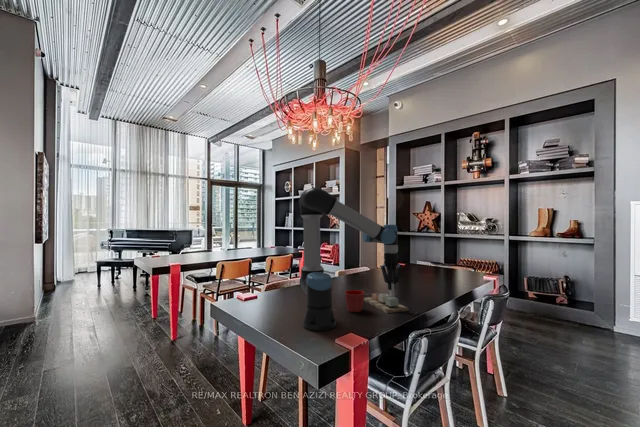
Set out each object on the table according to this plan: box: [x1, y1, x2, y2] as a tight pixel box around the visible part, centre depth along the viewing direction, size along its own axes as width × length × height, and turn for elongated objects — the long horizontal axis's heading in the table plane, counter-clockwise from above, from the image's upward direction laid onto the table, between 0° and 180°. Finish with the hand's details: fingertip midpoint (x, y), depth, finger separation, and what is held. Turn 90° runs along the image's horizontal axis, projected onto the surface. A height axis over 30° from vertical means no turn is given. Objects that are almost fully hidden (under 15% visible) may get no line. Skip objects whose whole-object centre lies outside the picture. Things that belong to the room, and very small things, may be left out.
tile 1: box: [378, 293, 392, 303], centre depth 164 cm, size 5×5×4 cm
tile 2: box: [385, 296, 399, 306], centre depth 156 cm, size 5×5×4 cm
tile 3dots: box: [371, 292, 381, 301], centre depth 171 cm, size 5×5×4 cm
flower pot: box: [344, 289, 365, 313], centre depth 155 cm, size 11×11×10 cm
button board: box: [363, 296, 409, 314], centre depth 164 cm, size 27×13×2 cm, turn 17°
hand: (391, 295), depth 156 cm, fingers closed
